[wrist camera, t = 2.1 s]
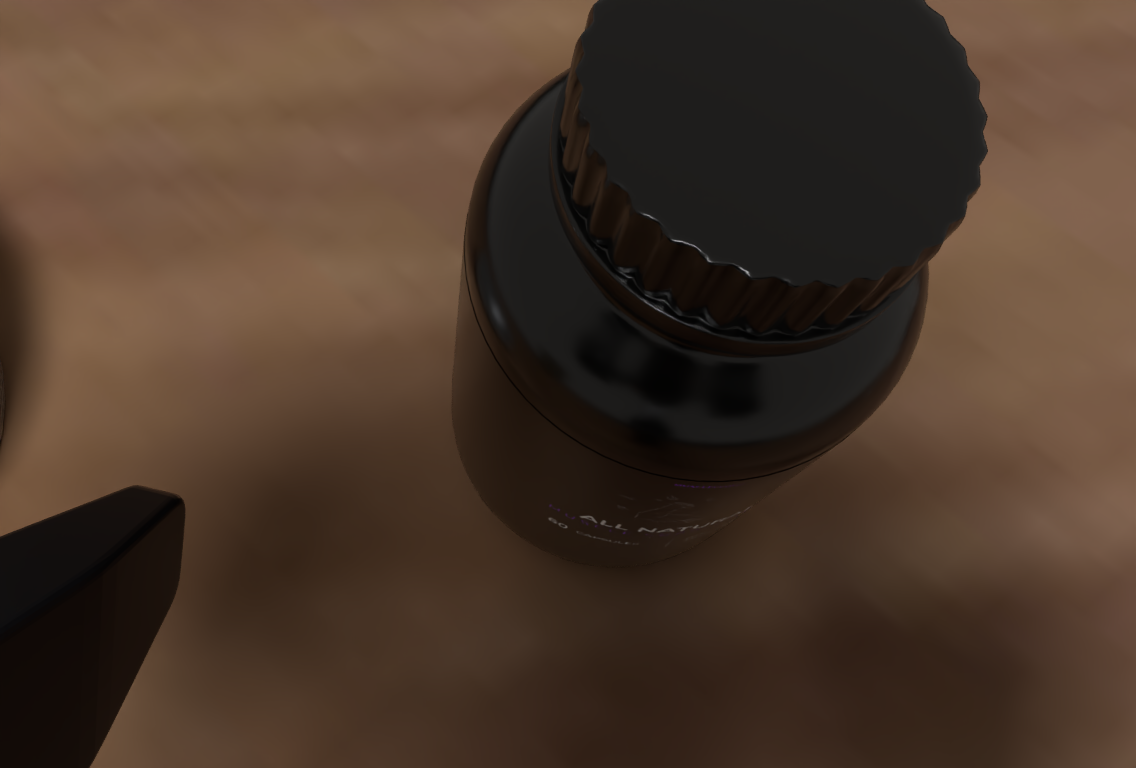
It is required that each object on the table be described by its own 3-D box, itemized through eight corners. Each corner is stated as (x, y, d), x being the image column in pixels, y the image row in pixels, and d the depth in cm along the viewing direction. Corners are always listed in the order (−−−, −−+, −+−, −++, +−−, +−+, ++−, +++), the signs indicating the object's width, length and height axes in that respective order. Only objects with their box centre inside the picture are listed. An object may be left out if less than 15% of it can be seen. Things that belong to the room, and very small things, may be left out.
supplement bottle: (592, 643, 21) (768, 526, 10) (387, 391, 22) (331, 26, 11) (823, 441, 23) (1194, 149, 12) (624, 221, 24) (783, -234, 13)
